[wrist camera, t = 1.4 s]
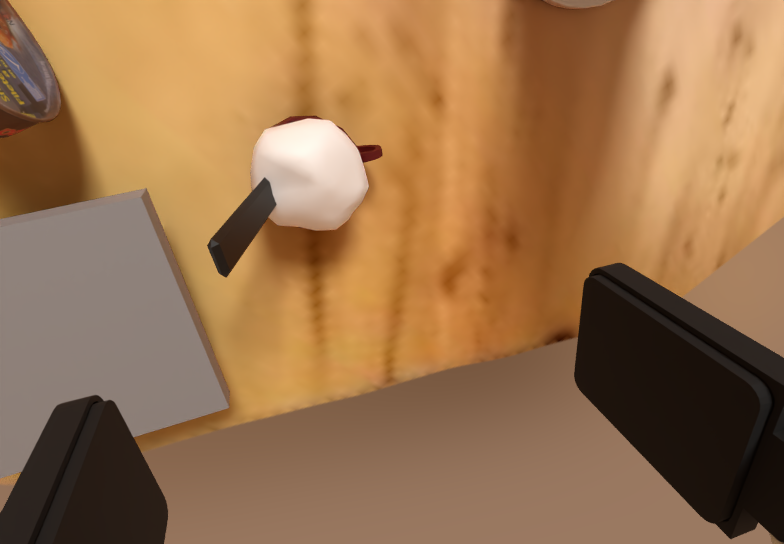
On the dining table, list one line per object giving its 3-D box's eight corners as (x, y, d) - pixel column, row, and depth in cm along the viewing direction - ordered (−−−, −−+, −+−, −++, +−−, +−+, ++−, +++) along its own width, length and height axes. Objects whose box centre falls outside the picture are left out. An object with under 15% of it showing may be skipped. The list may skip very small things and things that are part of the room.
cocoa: (371, 121, 30) (457, 153, 19) (356, 216, 32) (427, 290, 21) (211, 95, 26) (211, 117, 16) (207, 204, 28) (205, 286, 18)
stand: (156, 172, 27) (140, 197, 22) (230, 361, 33) (229, 407, 29) (-125, 230, 24) (-204, 270, 20) (16, 422, 31) (-20, 484, 26)
